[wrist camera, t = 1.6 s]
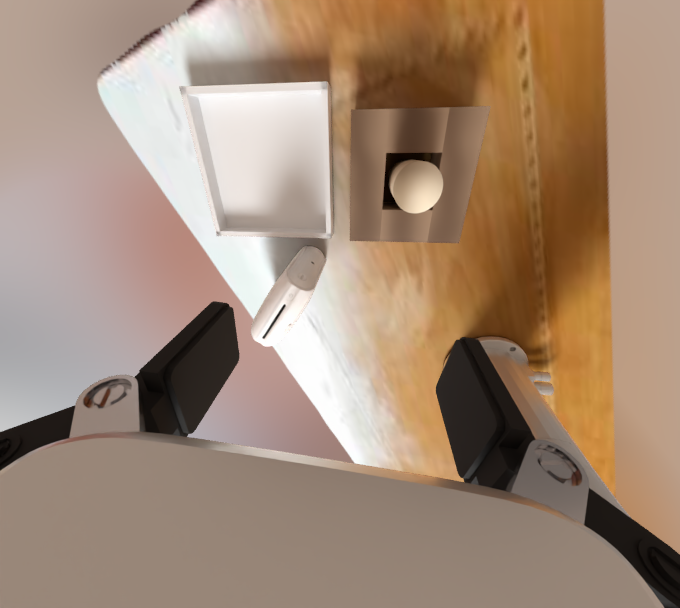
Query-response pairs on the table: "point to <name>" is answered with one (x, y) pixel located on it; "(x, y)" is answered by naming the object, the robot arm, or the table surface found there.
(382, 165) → the holder
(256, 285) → the table surface
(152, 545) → the robot arm
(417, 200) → the dowel
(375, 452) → the table surface
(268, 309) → the photo printer
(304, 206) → the tray
